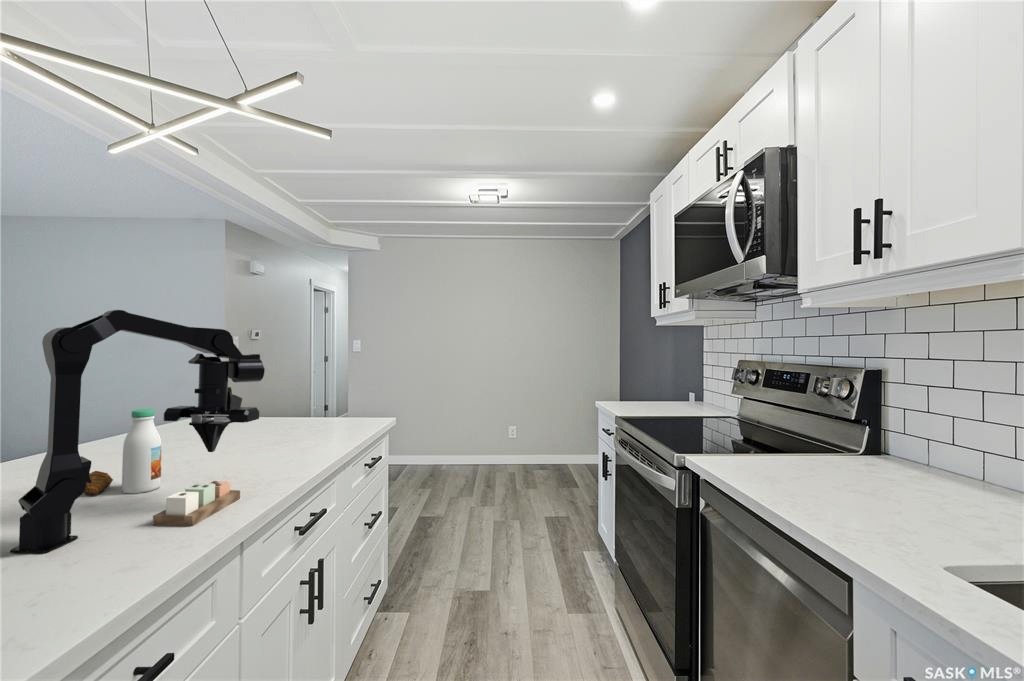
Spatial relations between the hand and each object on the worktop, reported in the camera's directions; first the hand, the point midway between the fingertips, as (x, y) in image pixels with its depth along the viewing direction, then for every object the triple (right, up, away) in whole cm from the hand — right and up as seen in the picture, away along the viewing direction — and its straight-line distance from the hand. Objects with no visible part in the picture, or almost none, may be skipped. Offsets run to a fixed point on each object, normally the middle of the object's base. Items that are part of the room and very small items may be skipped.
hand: (211, 451), depth 109 cm
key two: (0, -11, -4) cm, 11 cm away
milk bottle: (-24, -12, +10) cm, 29 cm away
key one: (0, -11, -10) cm, 14 cm away
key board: (0, -12, -4) cm, 13 cm away
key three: (0, -12, +2) cm, 12 cm away
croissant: (-35, -12, +9) cm, 38 cm away
